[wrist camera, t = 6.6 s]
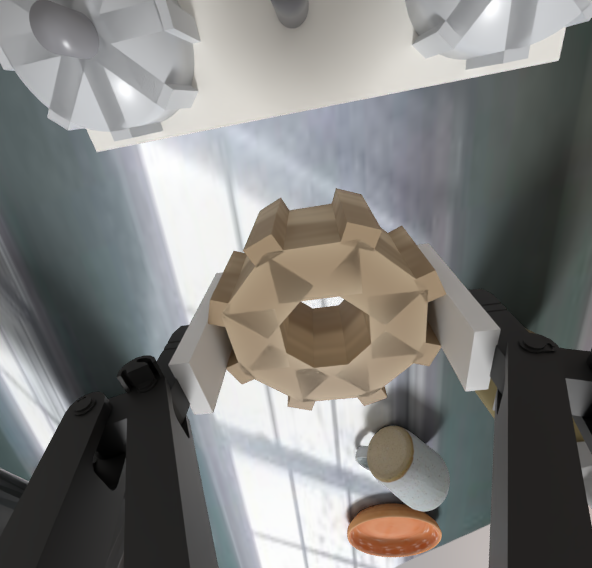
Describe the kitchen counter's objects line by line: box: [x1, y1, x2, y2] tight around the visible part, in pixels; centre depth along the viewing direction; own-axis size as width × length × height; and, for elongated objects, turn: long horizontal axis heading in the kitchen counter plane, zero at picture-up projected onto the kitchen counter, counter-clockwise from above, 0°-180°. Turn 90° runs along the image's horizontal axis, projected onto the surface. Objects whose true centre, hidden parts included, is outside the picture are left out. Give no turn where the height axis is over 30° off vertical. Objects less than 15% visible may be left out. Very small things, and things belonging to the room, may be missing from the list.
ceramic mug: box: [356, 426, 450, 512], centre depth 40 cm, size 11×8×8 cm
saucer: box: [347, 503, 442, 557], centre depth 54 cm, size 16×16×3 cm
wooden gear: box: [208, 188, 446, 410], centre depth 15 cm, size 9×9×4 cm
